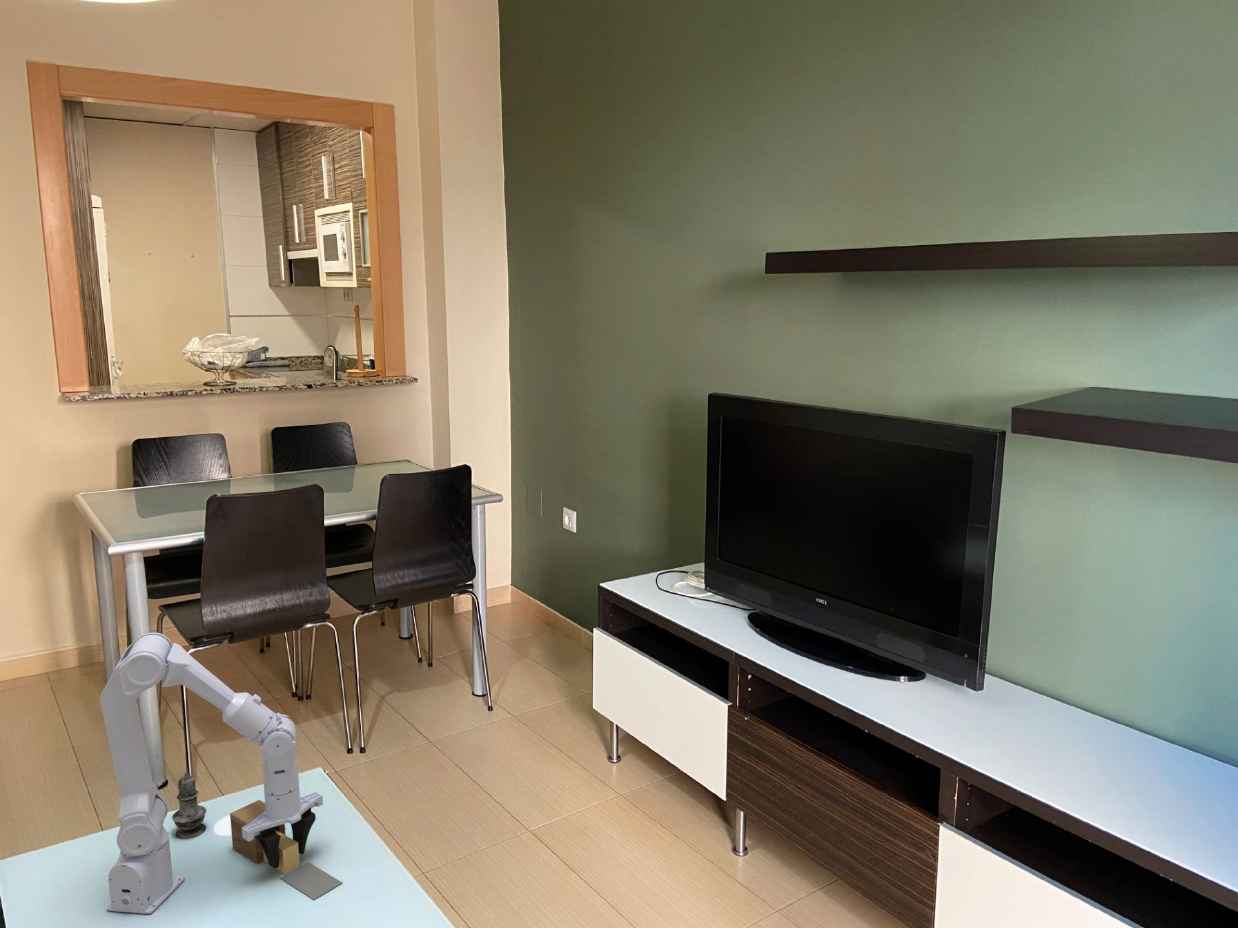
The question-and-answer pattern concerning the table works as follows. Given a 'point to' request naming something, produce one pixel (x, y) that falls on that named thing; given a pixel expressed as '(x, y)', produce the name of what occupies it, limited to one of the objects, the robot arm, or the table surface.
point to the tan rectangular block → (286, 853)
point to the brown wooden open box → (242, 819)
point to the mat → (311, 880)
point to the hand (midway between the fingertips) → (286, 858)
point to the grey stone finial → (188, 810)
